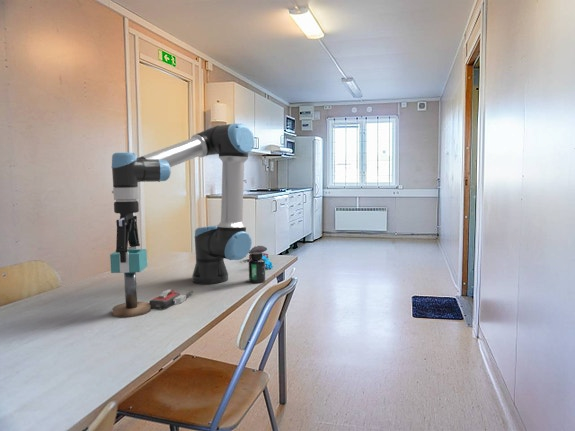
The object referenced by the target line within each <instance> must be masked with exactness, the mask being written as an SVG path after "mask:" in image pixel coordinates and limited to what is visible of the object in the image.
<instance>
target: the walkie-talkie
mask: <svg viewBox="0 0 575 431" xmlns="http://www.w3.org/2000/svg"><path fill="white" fill-rule="evenodd" d="M174 290H175V289H165V290H164V291H162V292H161V294H158V295H157V296H155V297H154V298H153V299H151V300H149V302H148V303H149V304H150V305H151V310H152V309H154V310H167V309H169V308H170V307H172V306H175V305H176V306H177V305H179V304H182V303H184V302H186V301H187V297H189V296H191V295H192V294H193V293H194V290H190V291H189V292H187V293H186V294H181V293H180V292H177V291H176V292H175V291H174Z"/></svg>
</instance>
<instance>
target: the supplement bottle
mask: <svg viewBox="0 0 575 431" xmlns="http://www.w3.org/2000/svg"><path fill="white" fill-rule="evenodd" d="M262 253H263V252H253V253H251V259H250V260H249V261H248V281H249V282H250V284H261V283H264V282H265V283H266V265H265V261H264V259H262V257H263V256H262Z"/></svg>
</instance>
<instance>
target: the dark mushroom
mask: <svg viewBox="0 0 575 431" xmlns="http://www.w3.org/2000/svg"><path fill="white" fill-rule="evenodd" d="M267 250H268V248H267V247H266V246H265V245H257V246H253V247H251V249H250V251H249V253H248V254H249V256H248V258H249V260H250V259H251V253H253V252H261V253H263V256H265V255H266V256H267V259H268V258H269V253H265V252H267Z"/></svg>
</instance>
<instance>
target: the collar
mask: <svg viewBox="0 0 575 431" xmlns="http://www.w3.org/2000/svg"><path fill="white" fill-rule="evenodd" d="M127 252H129V272H123V274H124V273H133V272H136V273H141V272H142V271H143V270H144V269H146V268H147V267H148V255H147V254H148V251H147V248H137V249H129V248H127ZM109 258H110V260H109V261H110V273H111V274H121V273H120V261H119V252H116V251H114V252H112V253H110V255H109Z"/></svg>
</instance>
